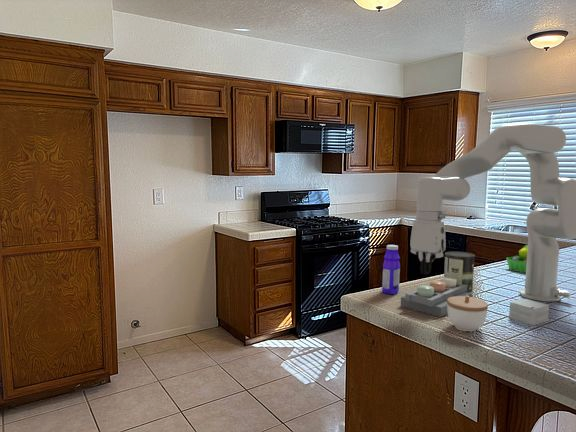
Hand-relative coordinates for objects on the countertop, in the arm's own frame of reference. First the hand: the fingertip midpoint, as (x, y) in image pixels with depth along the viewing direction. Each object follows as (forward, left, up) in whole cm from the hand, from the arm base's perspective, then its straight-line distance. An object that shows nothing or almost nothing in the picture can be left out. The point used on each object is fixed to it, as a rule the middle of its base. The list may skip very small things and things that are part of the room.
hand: (425, 273), depth 135 cm
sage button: (0, 0, -8) cm, 8 cm away
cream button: (0, -16, -8) cm, 18 cm away
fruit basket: (-3, -82, -12) cm, 83 cm away
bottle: (+18, -8, -12) cm, 23 cm away
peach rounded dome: (0, -8, -8) cm, 11 cm away
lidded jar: (-16, +6, -12) cm, 21 cm away
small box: (-26, -16, -12) cm, 33 cm away
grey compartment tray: (0, -8, -12) cm, 14 cm away
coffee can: (+2, -28, -12) cm, 31 cm away
